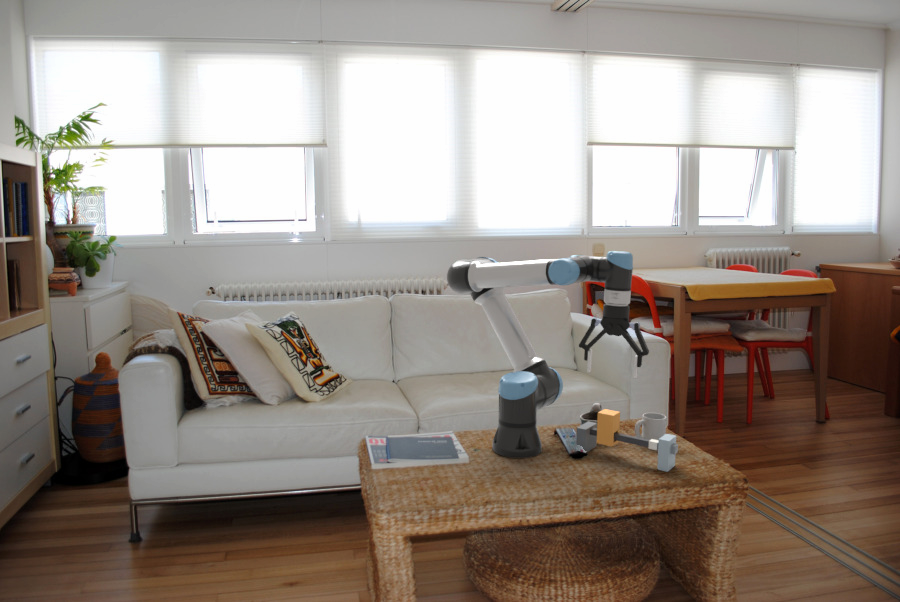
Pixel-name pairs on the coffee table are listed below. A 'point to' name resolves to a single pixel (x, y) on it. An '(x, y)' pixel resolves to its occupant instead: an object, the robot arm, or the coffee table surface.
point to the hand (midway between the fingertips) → (611, 374)
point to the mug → (591, 414)
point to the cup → (651, 426)
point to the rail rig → (664, 445)
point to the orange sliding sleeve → (607, 427)
